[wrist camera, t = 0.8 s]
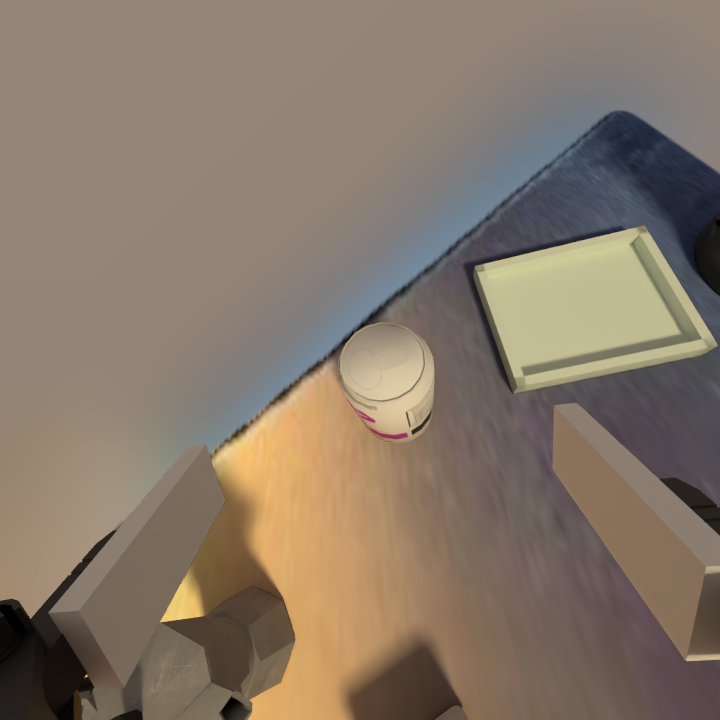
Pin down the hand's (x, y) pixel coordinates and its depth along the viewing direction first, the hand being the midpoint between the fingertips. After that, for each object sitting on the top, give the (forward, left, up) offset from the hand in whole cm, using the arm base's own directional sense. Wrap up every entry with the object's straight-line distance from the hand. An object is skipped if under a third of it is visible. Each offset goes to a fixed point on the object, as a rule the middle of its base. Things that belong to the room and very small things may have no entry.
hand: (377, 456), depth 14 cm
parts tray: (-23, -16, -28) cm, 40 cm away
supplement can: (0, -9, -28) cm, 30 cm away
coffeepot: (+20, +11, -28) cm, 36 cm away
